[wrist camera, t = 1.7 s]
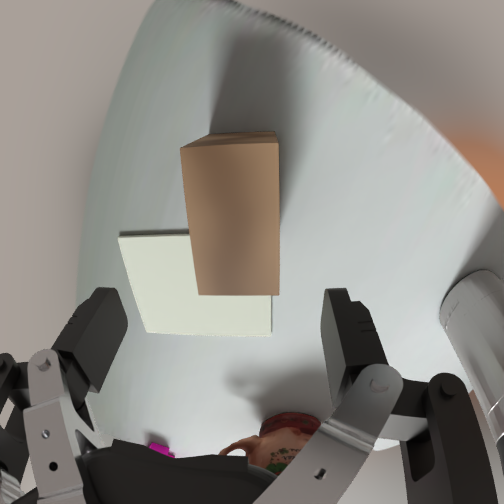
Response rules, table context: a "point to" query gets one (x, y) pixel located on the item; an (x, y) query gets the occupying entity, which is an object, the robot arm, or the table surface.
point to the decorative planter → (277, 441)
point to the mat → (185, 292)
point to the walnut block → (234, 212)
